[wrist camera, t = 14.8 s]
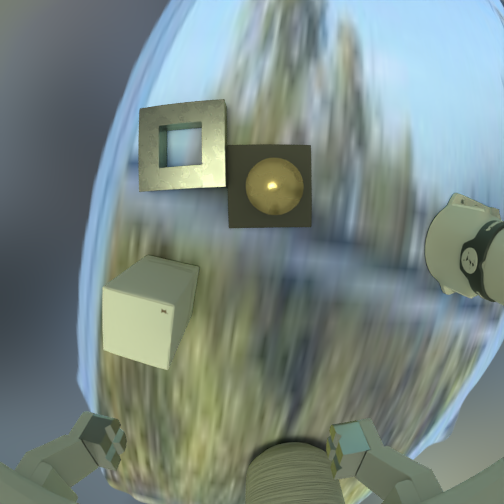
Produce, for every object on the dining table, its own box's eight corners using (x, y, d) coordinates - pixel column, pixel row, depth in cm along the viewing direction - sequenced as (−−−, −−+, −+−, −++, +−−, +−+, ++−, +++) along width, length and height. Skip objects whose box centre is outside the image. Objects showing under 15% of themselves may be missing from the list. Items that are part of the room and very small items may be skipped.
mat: (310, 145, 39) (310, 145, 38) (310, 226, 41) (311, 227, 41) (227, 145, 39) (226, 145, 38) (229, 227, 41) (228, 228, 41)
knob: (288, 165, 39) (303, 158, 28) (288, 207, 40) (303, 215, 29) (246, 165, 39) (245, 157, 28) (246, 207, 40) (245, 215, 29)
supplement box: (145, 253, 42) (100, 283, 27) (200, 265, 43) (176, 304, 28) (140, 304, 44) (101, 350, 29) (191, 318, 45) (168, 372, 30)
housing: (226, 107, 37) (224, 99, 33) (227, 186, 40) (225, 186, 36) (149, 115, 37) (139, 108, 33) (149, 191, 40) (139, 191, 36)
